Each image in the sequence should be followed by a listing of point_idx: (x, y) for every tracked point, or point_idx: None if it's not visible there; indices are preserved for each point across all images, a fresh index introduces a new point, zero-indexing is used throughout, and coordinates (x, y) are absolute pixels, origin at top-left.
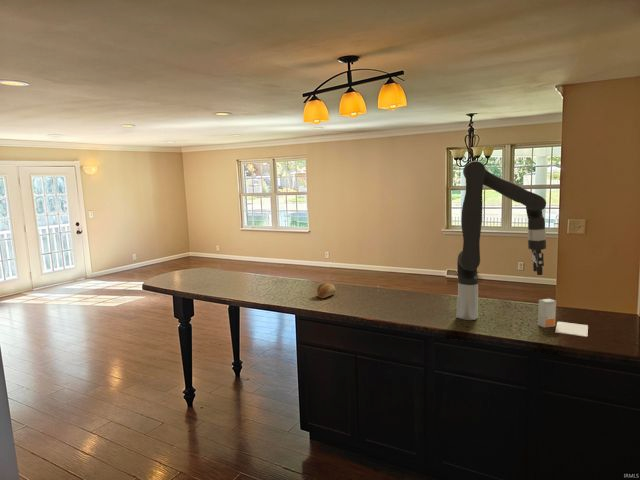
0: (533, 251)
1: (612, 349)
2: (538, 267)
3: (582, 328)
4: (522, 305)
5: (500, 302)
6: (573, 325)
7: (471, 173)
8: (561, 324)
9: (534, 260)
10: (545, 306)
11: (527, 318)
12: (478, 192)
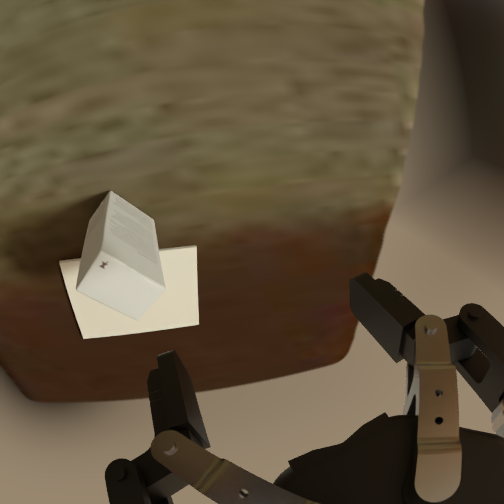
0: (487, 475)
1: (36, 378)
2: (155, 439)
3: (152, 319)
4: (383, 102)
5: (397, 24)
6: (171, 295)
7: None
8: (161, 264)
9: (413, 377)
10: (78, 273)
11: (195, 132)
12: None
